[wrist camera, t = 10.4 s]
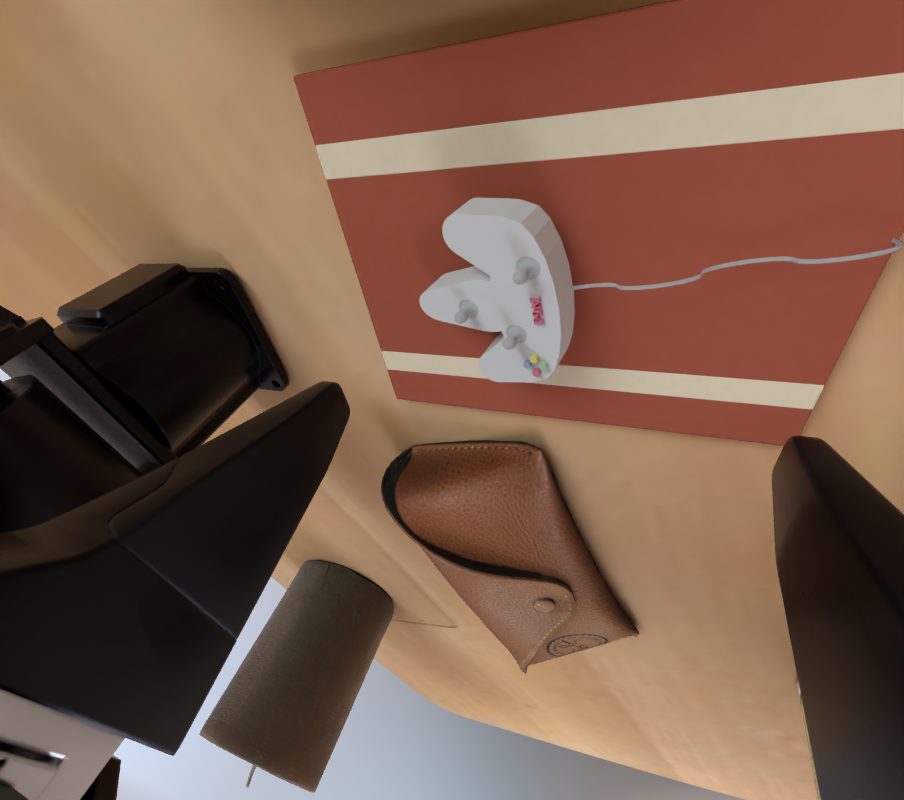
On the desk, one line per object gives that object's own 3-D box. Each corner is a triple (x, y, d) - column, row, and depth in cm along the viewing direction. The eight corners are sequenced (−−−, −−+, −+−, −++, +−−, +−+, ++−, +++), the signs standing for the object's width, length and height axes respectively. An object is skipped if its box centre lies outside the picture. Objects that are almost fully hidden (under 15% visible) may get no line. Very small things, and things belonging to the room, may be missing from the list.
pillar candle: (351, 559, 36) (228, 785, 26) (414, 618, 41) (330, 830, 31) (284, 557, 42) (161, 742, 32) (346, 609, 46) (255, 785, 36)
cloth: (791, 438, 15) (793, 447, 14) (400, 393, 20) (396, 399, 20) (1045, -74, 7) (1061, -77, 7) (300, 73, 12) (291, 76, 12)
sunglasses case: (650, 642, 27) (583, 737, 25) (565, 580, 32) (505, 653, 30) (539, 436, 18) (422, 556, 16) (450, 402, 24) (357, 487, 22)
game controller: (399, 237, 14) (362, 273, 13) (869, -50, 8) (933, -62, 6) (485, 369, 17) (464, 414, 15) (897, 240, 10) (948, 295, 8)
